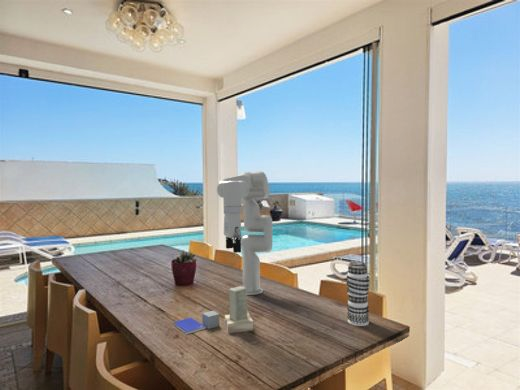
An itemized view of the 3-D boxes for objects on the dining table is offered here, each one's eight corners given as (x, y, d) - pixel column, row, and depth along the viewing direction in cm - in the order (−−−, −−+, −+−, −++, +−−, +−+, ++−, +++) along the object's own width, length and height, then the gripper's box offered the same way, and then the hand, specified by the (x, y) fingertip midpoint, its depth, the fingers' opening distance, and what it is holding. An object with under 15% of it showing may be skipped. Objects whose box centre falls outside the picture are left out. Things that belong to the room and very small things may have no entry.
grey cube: (202, 325, 131) (202, 313, 131) (213, 322, 134) (213, 310, 134) (208, 329, 127) (208, 316, 127) (219, 326, 130) (219, 313, 130)
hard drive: (205, 326, 127) (191, 317, 137) (187, 331, 122) (173, 322, 132) (205, 330, 127) (191, 320, 137) (187, 335, 122) (173, 325, 132)
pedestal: (224, 324, 133) (224, 314, 133) (248, 321, 135) (248, 312, 135) (228, 334, 123) (228, 324, 123) (253, 331, 125) (253, 321, 125)
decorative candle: (371, 327, 127) (370, 264, 127) (347, 325, 129) (346, 263, 129) (368, 318, 136) (367, 260, 136) (346, 317, 138) (345, 259, 138)
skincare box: (241, 314, 132) (241, 285, 132) (247, 317, 129) (247, 287, 129) (228, 318, 128) (228, 288, 129) (235, 321, 125) (234, 290, 125)
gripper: (218, 209, 141) (219, 247, 142) (230, 212, 126) (231, 255, 126) (234, 208, 144) (234, 246, 145) (248, 211, 129) (249, 253, 129)
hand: (233, 250), depth 136 cm, fingers open, 9 cm apart
